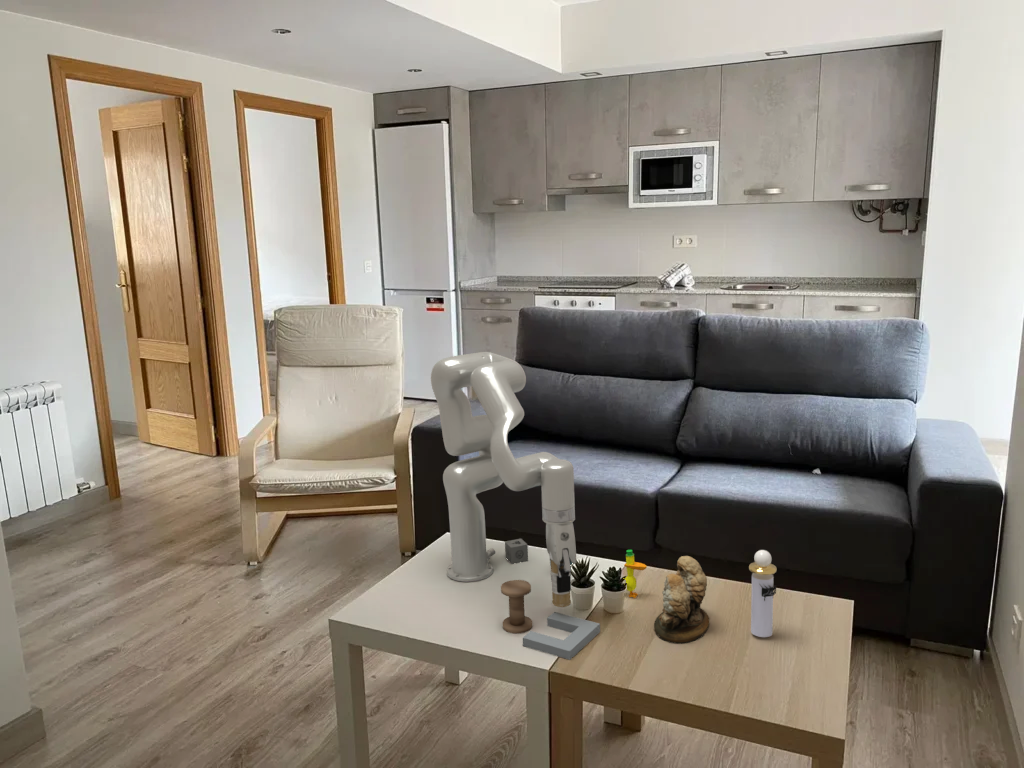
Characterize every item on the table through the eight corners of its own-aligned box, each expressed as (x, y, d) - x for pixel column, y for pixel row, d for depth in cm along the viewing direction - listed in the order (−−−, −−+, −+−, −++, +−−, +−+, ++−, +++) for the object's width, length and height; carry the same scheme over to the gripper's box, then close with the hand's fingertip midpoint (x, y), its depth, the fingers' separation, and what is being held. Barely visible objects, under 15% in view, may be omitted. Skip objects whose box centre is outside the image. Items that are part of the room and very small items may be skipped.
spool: (513, 616, 189) (511, 577, 188) (538, 623, 186) (536, 583, 184) (496, 629, 184) (494, 588, 182) (522, 636, 180) (520, 595, 178)
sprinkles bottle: (569, 598, 189) (567, 545, 186) (572, 607, 184) (570, 552, 182) (550, 600, 188) (548, 546, 186) (553, 608, 184) (551, 554, 181)
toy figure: (648, 595, 197) (648, 550, 195) (644, 601, 194) (643, 555, 192) (623, 591, 200) (622, 546, 198) (618, 597, 197) (617, 551, 195)
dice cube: (528, 561, 222) (527, 544, 221) (511, 564, 220) (510, 547, 219) (521, 555, 226) (521, 538, 225) (505, 558, 225) (504, 541, 224)
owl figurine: (668, 604, 192) (668, 538, 189) (716, 613, 187) (717, 545, 184) (645, 638, 177) (645, 566, 174) (698, 649, 171) (699, 575, 168)
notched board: (554, 619, 187) (554, 611, 187) (600, 631, 180) (599, 623, 180) (522, 645, 176) (522, 637, 175) (569, 659, 169) (569, 651, 169)
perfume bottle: (742, 633, 177) (743, 549, 173) (761, 626, 180) (763, 543, 176) (761, 644, 172) (762, 557, 168) (780, 637, 175) (782, 552, 171)
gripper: (585, 523, 175) (587, 600, 178) (564, 500, 191) (566, 570, 194) (552, 527, 173) (555, 605, 177) (534, 503, 190) (536, 574, 193)
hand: (560, 586), depth 186 cm, fingers closed on sprinkles bottle, 4 cm apart
